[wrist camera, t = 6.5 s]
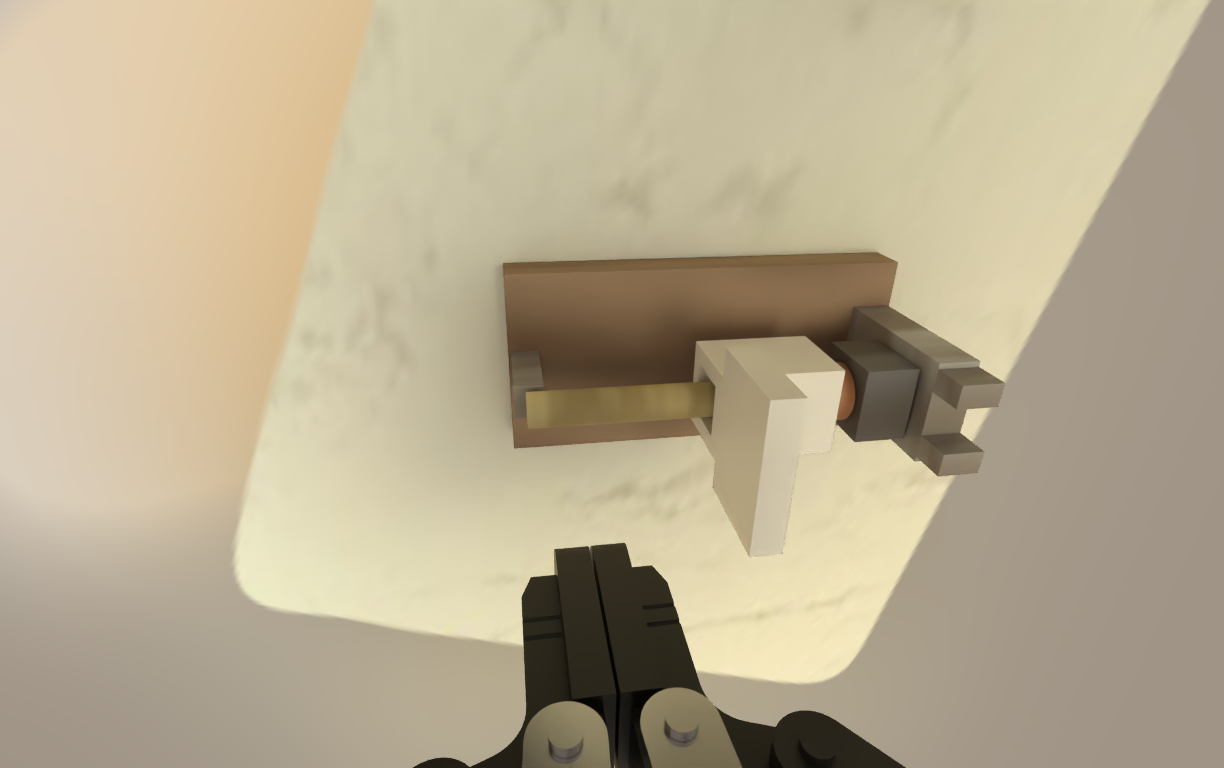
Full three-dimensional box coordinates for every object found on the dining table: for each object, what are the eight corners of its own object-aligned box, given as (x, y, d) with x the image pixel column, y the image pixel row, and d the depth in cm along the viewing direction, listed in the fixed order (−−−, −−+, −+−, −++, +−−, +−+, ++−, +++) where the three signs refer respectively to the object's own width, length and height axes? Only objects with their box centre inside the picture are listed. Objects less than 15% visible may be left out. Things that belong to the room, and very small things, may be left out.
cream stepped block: (698, 313, 22) (770, 400, 16) (809, 309, 22) (916, 390, 17) (688, 440, 24) (749, 557, 18) (789, 433, 25) (879, 544, 19)
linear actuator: (503, 263, 24) (506, 348, 16) (877, 252, 26) (1026, 323, 19) (513, 429, 27) (519, 564, 19) (847, 407, 29) (965, 520, 22)
